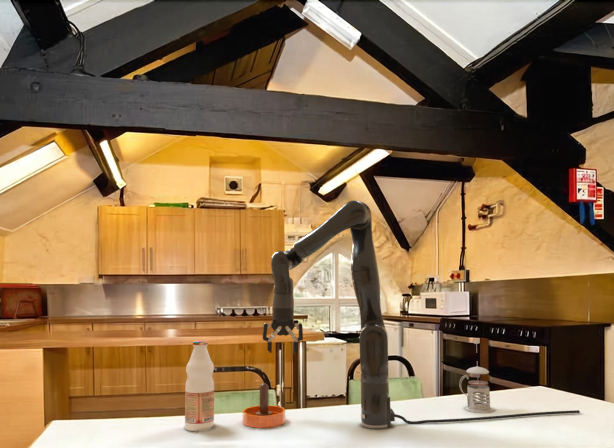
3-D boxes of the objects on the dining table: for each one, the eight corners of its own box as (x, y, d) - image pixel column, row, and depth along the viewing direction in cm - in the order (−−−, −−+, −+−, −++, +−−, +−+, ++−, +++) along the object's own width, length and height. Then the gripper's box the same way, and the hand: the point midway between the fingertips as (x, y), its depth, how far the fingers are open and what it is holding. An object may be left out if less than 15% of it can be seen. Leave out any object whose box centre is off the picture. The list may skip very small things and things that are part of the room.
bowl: (285, 418, 184) (285, 405, 184) (284, 430, 169) (284, 415, 170) (244, 418, 183) (245, 405, 184) (240, 430, 169) (240, 416, 170)
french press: (497, 412, 189) (494, 341, 191) (464, 413, 189) (462, 342, 191) (488, 406, 198) (485, 338, 201) (457, 406, 199) (454, 338, 201)
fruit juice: (182, 432, 168) (183, 343, 171) (187, 423, 178) (188, 339, 180) (211, 431, 169) (212, 342, 171) (215, 423, 178) (216, 339, 181)
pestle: (272, 419, 179) (272, 381, 180) (271, 423, 174) (271, 384, 175) (256, 419, 179) (256, 381, 180) (255, 424, 174) (255, 384, 175)
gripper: (264, 307, 184) (263, 354, 183) (304, 307, 186) (303, 354, 185) (262, 305, 192) (261, 351, 190) (301, 306, 194) (300, 351, 192)
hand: (282, 352), depth 187 cm, fingers open, 8 cm apart
